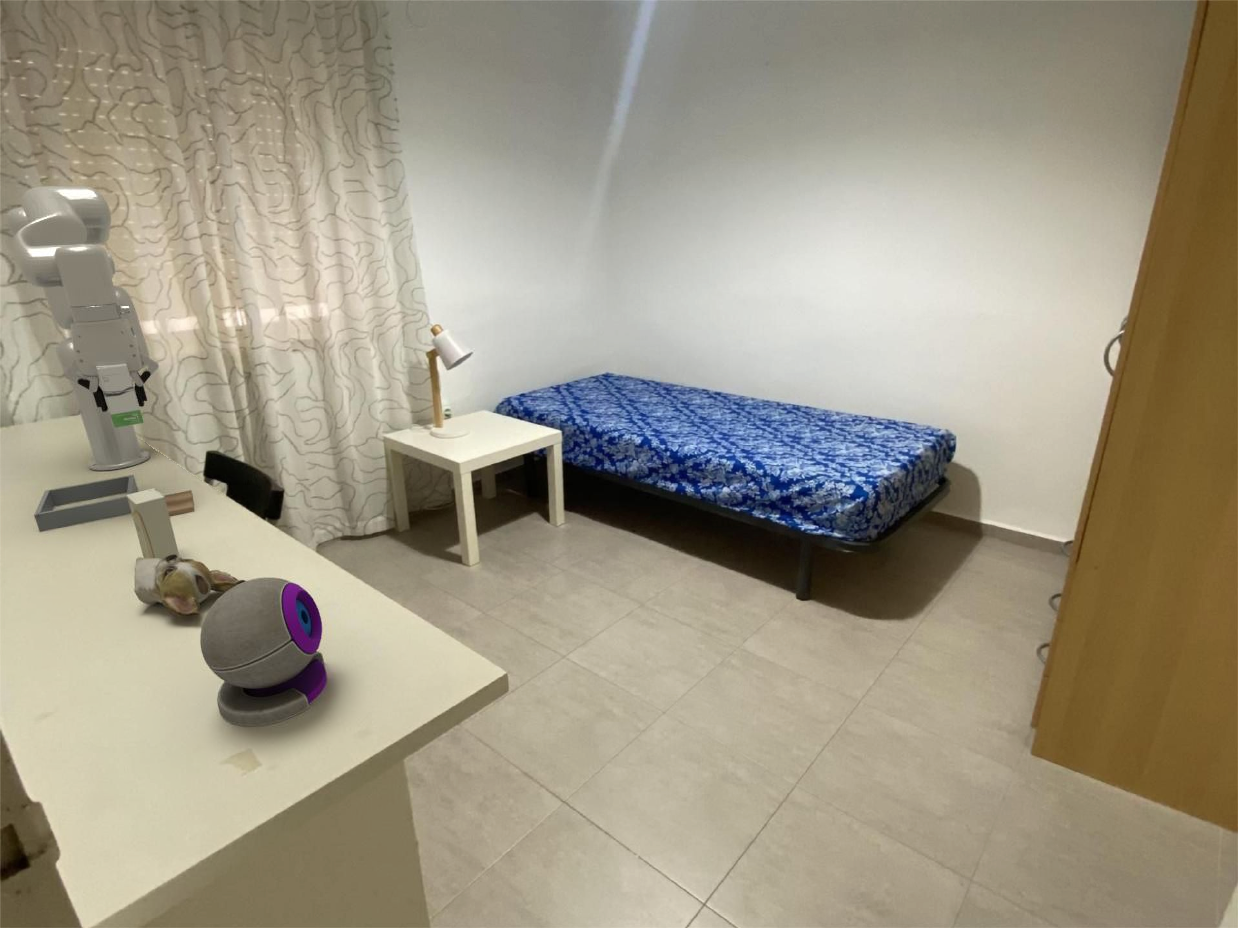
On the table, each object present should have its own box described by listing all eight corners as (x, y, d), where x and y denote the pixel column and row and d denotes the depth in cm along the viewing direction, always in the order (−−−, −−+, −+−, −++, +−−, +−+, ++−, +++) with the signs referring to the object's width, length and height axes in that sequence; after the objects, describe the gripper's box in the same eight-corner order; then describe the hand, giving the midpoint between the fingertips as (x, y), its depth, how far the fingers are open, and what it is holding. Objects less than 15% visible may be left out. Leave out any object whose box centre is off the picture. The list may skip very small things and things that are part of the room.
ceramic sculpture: (164, 533, 109) (243, 547, 105) (176, 580, 112) (252, 595, 109) (101, 565, 99) (185, 581, 96) (116, 615, 103) (197, 633, 99)
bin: (50, 505, 145) (45, 490, 143) (137, 489, 152) (133, 474, 151) (39, 531, 132) (33, 515, 131) (135, 512, 140) (131, 496, 139)
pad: (143, 504, 144) (141, 499, 144) (192, 494, 148) (191, 490, 148) (142, 521, 135) (140, 517, 135) (194, 511, 140) (193, 506, 139)
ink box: (144, 423, 133) (127, 363, 129) (113, 428, 131) (95, 367, 127) (140, 415, 140) (124, 357, 136) (111, 419, 137) (94, 361, 133)
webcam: (321, 716, 80) (296, 606, 75) (202, 735, 78) (168, 622, 73) (339, 652, 92) (319, 553, 87) (237, 666, 90) (210, 565, 85)
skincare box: (143, 558, 120) (124, 494, 116) (171, 549, 123) (154, 487, 119) (153, 569, 116) (134, 503, 112) (182, 559, 119) (164, 495, 115)
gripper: (151, 308, 135) (174, 397, 141) (43, 317, 127) (72, 411, 133) (150, 312, 129) (174, 404, 135) (36, 321, 121) (67, 419, 127)
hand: (123, 406), depth 134 cm, fingers closed on ink box, 5 cm apart
